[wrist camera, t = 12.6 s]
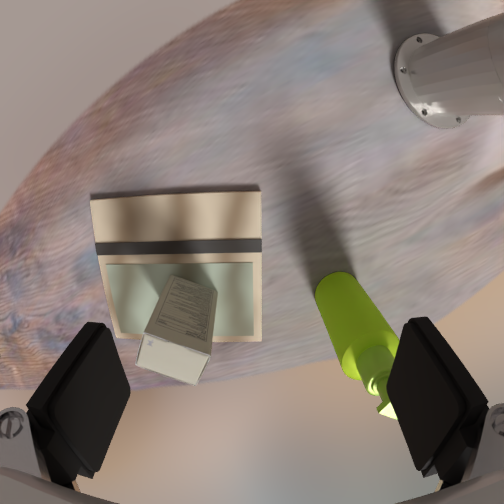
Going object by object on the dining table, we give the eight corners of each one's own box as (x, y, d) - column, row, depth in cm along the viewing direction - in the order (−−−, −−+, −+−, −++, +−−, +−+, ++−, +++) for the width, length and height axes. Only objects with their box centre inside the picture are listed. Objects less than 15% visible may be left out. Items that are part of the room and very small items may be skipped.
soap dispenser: (346, 323, 39) (401, 439, 21) (305, 301, 38) (346, 426, 19) (373, 288, 38) (450, 394, 19) (332, 263, 37) (402, 373, 18)
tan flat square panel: (260, 190, 34) (261, 192, 33) (261, 337, 40) (261, 342, 39) (92, 199, 33) (89, 201, 32) (118, 334, 40) (116, 338, 39)
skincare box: (160, 302, 37) (130, 364, 25) (170, 272, 36) (139, 330, 24) (209, 320, 38) (196, 389, 26) (221, 292, 37) (211, 356, 25)
